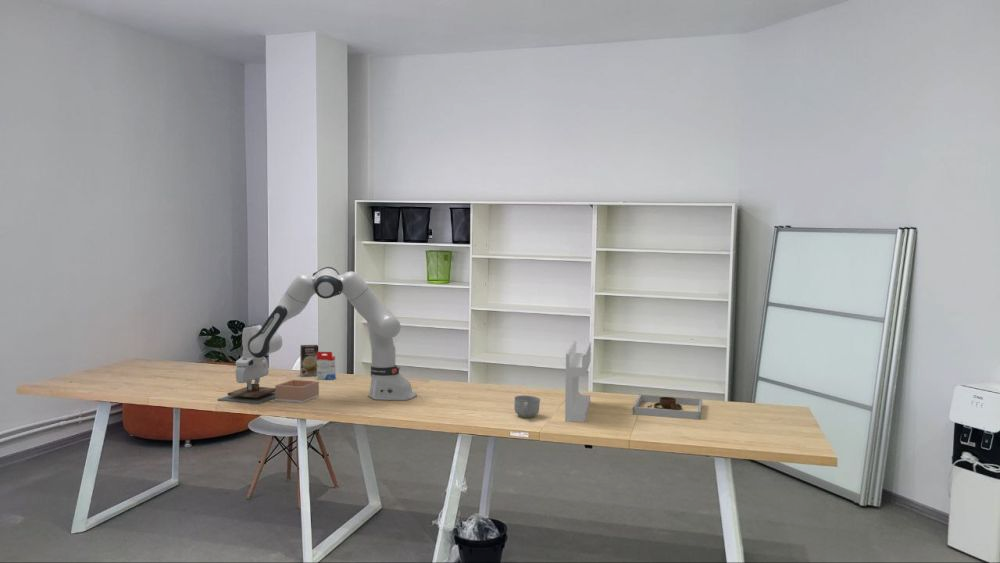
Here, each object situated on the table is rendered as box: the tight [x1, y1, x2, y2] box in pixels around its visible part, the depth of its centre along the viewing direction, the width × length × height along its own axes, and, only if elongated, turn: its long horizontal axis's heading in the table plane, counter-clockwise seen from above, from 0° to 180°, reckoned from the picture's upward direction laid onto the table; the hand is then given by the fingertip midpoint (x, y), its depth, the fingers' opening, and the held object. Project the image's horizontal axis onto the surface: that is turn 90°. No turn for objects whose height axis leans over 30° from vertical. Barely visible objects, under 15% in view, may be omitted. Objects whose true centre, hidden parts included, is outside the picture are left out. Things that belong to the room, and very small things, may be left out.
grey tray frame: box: [632, 393, 703, 420], centre depth 327 cm, size 28×26×3 cm
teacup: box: [513, 394, 541, 419], centre depth 312 cm, size 14×11×8 cm
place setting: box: [646, 396, 682, 410], centre depth 326 cm, size 18×20×6 cm
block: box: [564, 340, 592, 423], centre depth 321 cm, size 35×8×28 cm, turn 170°
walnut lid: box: [227, 383, 275, 398], centre depth 345 cm, size 16×16×4 cm
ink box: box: [316, 351, 336, 381], centre depth 387 cm, size 8×5×15 cm, turn 84°
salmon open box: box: [274, 379, 320, 404], centre depth 343 cm, size 14×14×7 cm
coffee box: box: [299, 344, 319, 378], centre depth 395 cm, size 9×6×16 cm
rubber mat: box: [217, 392, 276, 405], centre depth 346 cm, size 22×22×1 cm
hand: (253, 388), depth 345 cm, fingers closed on walnut lid, 2 cm apart
